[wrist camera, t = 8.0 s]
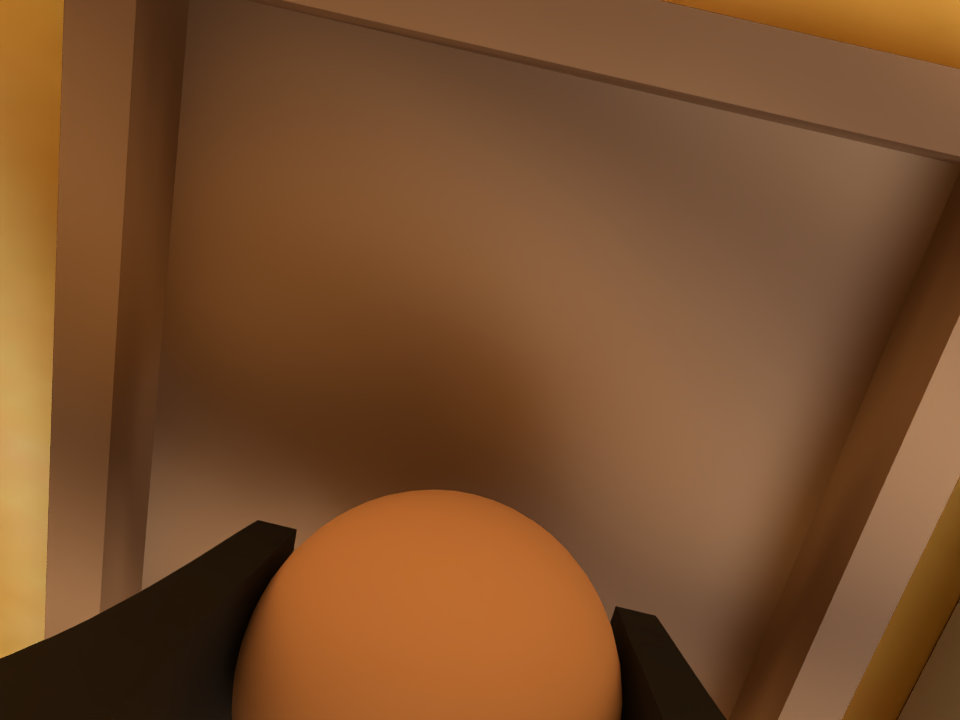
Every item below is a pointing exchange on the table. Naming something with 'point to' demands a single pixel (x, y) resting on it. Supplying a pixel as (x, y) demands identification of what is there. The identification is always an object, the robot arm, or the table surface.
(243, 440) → the tray
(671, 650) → the robot arm
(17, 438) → the table surface
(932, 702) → the dish
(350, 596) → the ball
